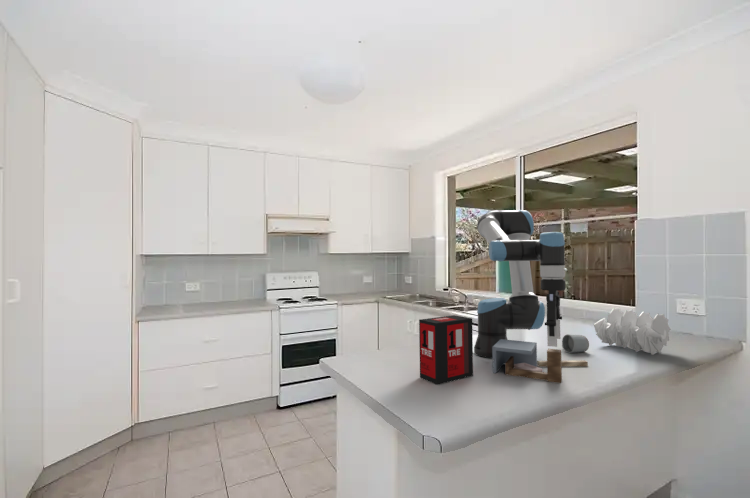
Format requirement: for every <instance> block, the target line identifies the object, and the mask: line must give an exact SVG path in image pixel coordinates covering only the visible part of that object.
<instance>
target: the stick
mask: <svg viewBox="0 0 750 498" xmlns="http://www.w3.org/2000/svg"><path fill="white" fill-rule="evenodd" d="M561 364H562V367H588V366H589V365H588V364H589V362H588V361H587V360H585V359H584V360H582V359H581V360H573V359H572V360H561ZM537 367H539V368H542V367H544V368H545V367H547V360H537Z"/></svg>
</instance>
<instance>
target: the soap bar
mask: <svg viewBox="0 0 750 498" xmlns="http://www.w3.org/2000/svg"><path fill="white" fill-rule="evenodd" d="M514 368H516V369H523V370H531V371H538V372H544V371H543V368H542V367H539V366H537V367H536V366H533V365H530V364H527V363H518V364H514Z"/></svg>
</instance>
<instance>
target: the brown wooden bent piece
mask: <svg viewBox="0 0 750 498" xmlns="http://www.w3.org/2000/svg"><path fill="white" fill-rule="evenodd" d="M546 361H547V369H546V370H547V371H546V372H545V371H543V372H538V371H531V370H523V369H516V368H514V357H513V356H511V357H510V358H509V359H508V360H507V362H506V363H505V364H504V365H505V367H504V368H505V370H504V371H505V373H504V375H505V376H513V377H514V376H515V377H521V378H527V379H528V378H529V379H535V380H540V381H541V380H542V381H547V382H549V383H556V384H561V383H562V381H563V379H562V378H563V376H562V374H563V372H562V370H563V369H562V367H563V366H562V364H561V361H562V349H557V348H556V349H555V348H547V350H546Z"/></svg>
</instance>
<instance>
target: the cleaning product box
mask: <svg viewBox="0 0 750 498" xmlns="http://www.w3.org/2000/svg"><path fill="white" fill-rule="evenodd" d="M418 322H419V323H418V324H419V327H418V328H419V329H418V330H419V333H418V334H419V336H418V337H419V343H418V344H419V378H420V379H422V378H423V379H422V380H424V379H425V381H427V382H429V383H431V384H434V385H437V386H438V385H442V384H446V383H450V381H451V382H454V380H455V381H458V379H459V380H462V379H466V378H469V377H473V376H474V348H473V344H474V342H473V318H472V317H466V316H461V315H455V314H453V315H446V316H445V315H444V316H438V317H430V318H422V319H420V318H419V320H418Z"/></svg>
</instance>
